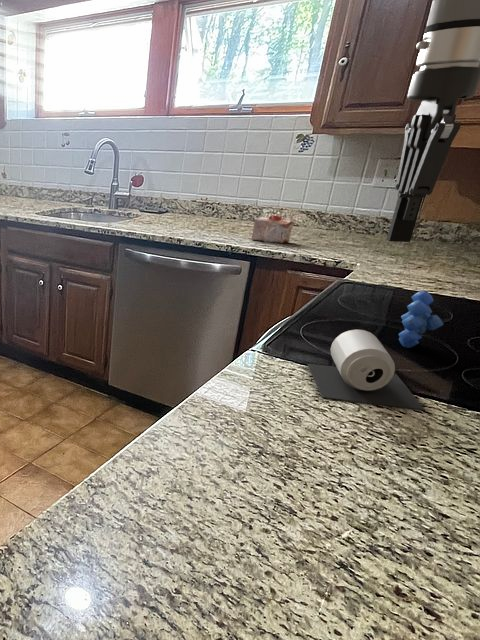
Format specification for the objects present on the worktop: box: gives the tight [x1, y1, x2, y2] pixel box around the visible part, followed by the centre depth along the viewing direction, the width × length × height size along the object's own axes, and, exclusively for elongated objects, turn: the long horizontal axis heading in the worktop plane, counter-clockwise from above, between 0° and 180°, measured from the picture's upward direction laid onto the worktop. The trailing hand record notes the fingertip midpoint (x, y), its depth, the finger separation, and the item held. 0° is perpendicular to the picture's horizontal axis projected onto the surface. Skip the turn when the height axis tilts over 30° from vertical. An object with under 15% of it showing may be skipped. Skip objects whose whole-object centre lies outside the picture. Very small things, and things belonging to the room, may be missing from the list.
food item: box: [250, 214, 295, 244], centre depth 201 cm, size 14×8×10 cm, turn 41°
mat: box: [306, 363, 426, 412], centre depth 89 cm, size 14×14×1 cm
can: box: [329, 329, 396, 391], centre depth 90 cm, size 8×8×12 cm
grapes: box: [398, 290, 444, 349], centre depth 102 cm, size 12×7×12 cm, turn 136°
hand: (398, 240), depth 81 cm, fingers closed
